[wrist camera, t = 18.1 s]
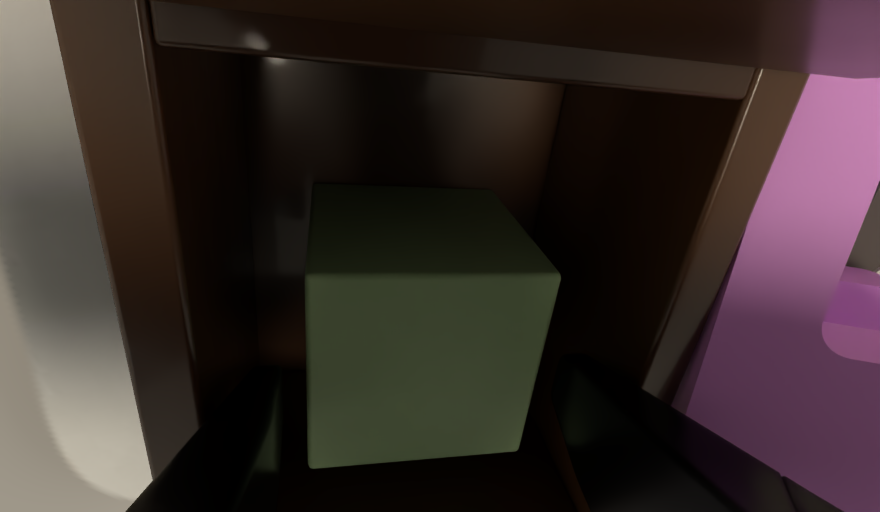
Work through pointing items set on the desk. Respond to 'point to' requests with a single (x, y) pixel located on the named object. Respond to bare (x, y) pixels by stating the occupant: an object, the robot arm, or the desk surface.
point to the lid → (634, 27)
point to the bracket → (803, 309)
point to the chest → (406, 165)
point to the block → (420, 324)
